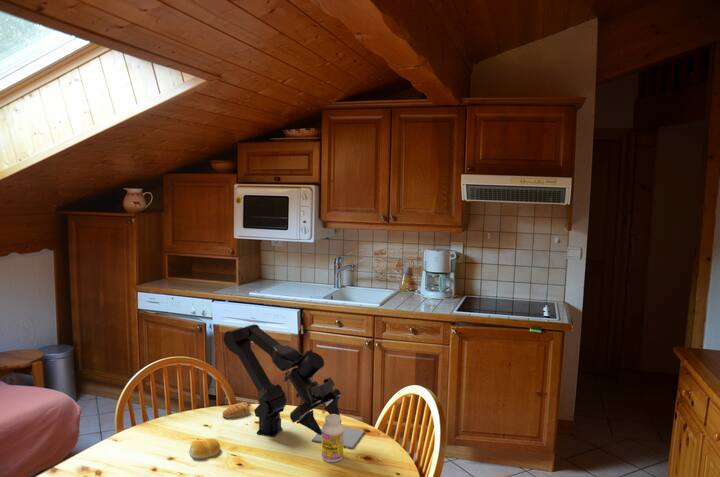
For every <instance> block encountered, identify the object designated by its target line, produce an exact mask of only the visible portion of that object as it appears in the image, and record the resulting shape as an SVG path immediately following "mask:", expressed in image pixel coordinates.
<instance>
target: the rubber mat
mask: <svg viewBox="0 0 720 477" xmlns="http://www.w3.org/2000/svg"><path fill="white" fill-rule="evenodd" d="M343 427H344V442H343V449H344V448H345V449H350V450H353V449H354V448H355V447H356V445H357V443H359V440H360V439H361V438H362V437H363V435H364V434H365V431H366V430H365V429H357V428H353V427H352V428H351V427H345V426H343ZM320 429H321V431H322V428H320ZM311 442H313V443H319V444H322V434H321V435H319V434H317V433H316V434H315V436H313V437H312V438H311Z"/></svg>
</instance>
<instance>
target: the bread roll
mask: <svg viewBox="0 0 720 477" xmlns="http://www.w3.org/2000/svg"><path fill="white" fill-rule="evenodd" d="M220 449H221V444H220V442H219V440H217V439H215V438H205V439H202V440H196V441H193V442H192V443H191V444H190V447H189V451H188V452H189V453H188V454H189V455H190V457H191V458H193V459H195V460H196V459H197V460H202V459H206V458H209V457H214V456H216V455H218V454H219V451H220Z"/></svg>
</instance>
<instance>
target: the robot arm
mask: <svg viewBox="0 0 720 477" xmlns="http://www.w3.org/2000/svg"><path fill="white" fill-rule="evenodd" d="M222 340H223V343H224V345H225V346H226V347H227V349H228V350H229V351H230V352H231V353H233V354H234V355H236V356H237V357H238V358H239V360H240V362H241V363H242V365H243V367H244V369H245V371H246V372H247V374H248V376H249V377H250V379H251V381H252V383H253V385H254V386H255V388H256V390H257V402H258V406H256V408H255V409H254V410H253V412H254V415H255V417H256V418H258V430H257V431H256V434H257V435H261V436H267V437H272V438H273V437H274V438H275V436H277V435H278V433H280V432H281V431H282V430H283V427H282V418H281V413H282V412H284V410H285V408H286V405H287V400H288V399H287V397H286V392H284V390H283V388H282V385H280V384H279V383H278V384H273V383H272V382H271V380H270V378H269V377H268V375H267V373H266V372H265V370H264V367H263V366H262V365H261V363H260V361H259V359H258V358H257V356H256V354H255V352H254V351H253V349H252V343H253V344H255V345H256V346H257V347H258V348H260V349H261V350H262V351H264V353H266V354H268V355H269V357H271V361H272V363H273V364H274V365H275V367H276V368H278V370H280V372H284V371H285V375H284V376H285V377H284V382H285V383H286V382H291V384H292V386H293V388H294V389H295V391H296V394H295V396H296V398H297V399H298V398H300V399H301V400H302V402H303V403H301V404H300V405H298V406H296V407H295V408H294V409H293V410H292V411H291V412H290V413H289V418H290V420H291V422H292V424H294V423H296V424H300V425H302V426H304V427H306V428H307V429H309V430H311V432H314V433H316V434H319V435H321V434H322V431H321V429H322V428H321V427H320V426H319V424H318V421H317V420H316V418H315V415H314V409H316V408H319V407H321V406H324V410H325V411H326V412H327V414H328V415H329V414H337V415H339V416H340V417H341V414H340V410H339V406H338V405H339V400H340V399H341V397H340V396H341V395H342V393H341V391H340V390H339V388H337V387H335V382H334V380H333V378H332V377H330V376H329V377H326V378H324V379H323V382H322V383H318V382H317V380H316V381H313V380H312V378H313V377H314V376H315V375H316V374H317V373H318V372H320V370H321V369H322V368H324V365H325V360H324V358H323V356H322V355H320V354H319V353H317V352H314V351H313V350H312V349H310V350H309V349H308V350H306V352H304V354H303V353H300V352H299V351H298V350H297V349H296V348H293V347H291V346H289V345H284V344H281V343H280V342H279V341H277V340H276V339H275V338H274V337H272V336H271V335H270V334H268V333H267V332H265V331H264V330H263V329H261V327H260V326H259V324H255V323H253V324H250V325H246V326H244V327H238V328H234V329H231V330H226V332H225V333H224V335H223V339H222ZM287 370H289V371H287ZM286 371H287V372H286ZM340 423H341V424H342V421H341V422H340Z"/></svg>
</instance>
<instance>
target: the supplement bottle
mask: <svg viewBox="0 0 720 477" xmlns="http://www.w3.org/2000/svg"><path fill="white" fill-rule="evenodd" d="M324 420H325V423H323V425H322V426H321V429H322V443H321V456H320V457H321V459H322V460H324V461H325V462H328V463H337V462H340V461H341V460H342V459H343V458H344V447H343V442H344V427H345V426H344V425H343V424H342V418H341V415H340V416H339V415H337V414H329V413H328V414H327V415H326V416H325V419H324ZM340 422H341V423H340Z"/></svg>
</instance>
